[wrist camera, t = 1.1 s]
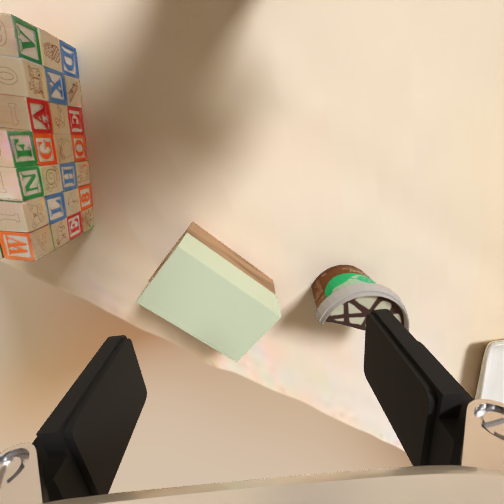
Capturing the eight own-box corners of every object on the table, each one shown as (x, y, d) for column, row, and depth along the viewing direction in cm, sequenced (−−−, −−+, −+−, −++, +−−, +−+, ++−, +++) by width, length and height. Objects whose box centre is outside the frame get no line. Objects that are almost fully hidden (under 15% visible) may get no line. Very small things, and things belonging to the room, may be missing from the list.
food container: (390, 267, 42) (431, 302, 33) (374, 300, 45) (408, 342, 35) (315, 249, 41) (335, 281, 32) (302, 285, 43) (318, 324, 34)
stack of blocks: (20, 40, 31) (-113, -20, 19) (77, 48, 31) (-19, -6, 20) (50, 223, 39) (-32, 257, 27) (95, 227, 39) (34, 263, 28)
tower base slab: (193, 221, 39) (186, 231, 35) (272, 279, 43) (275, 295, 38) (159, 265, 42) (148, 281, 37) (237, 317, 45) (236, 337, 41)
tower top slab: (186, 232, 35) (177, 246, 30) (277, 295, 38) (281, 317, 34) (149, 282, 37) (136, 302, 32) (237, 337, 41) (236, 362, 36)
